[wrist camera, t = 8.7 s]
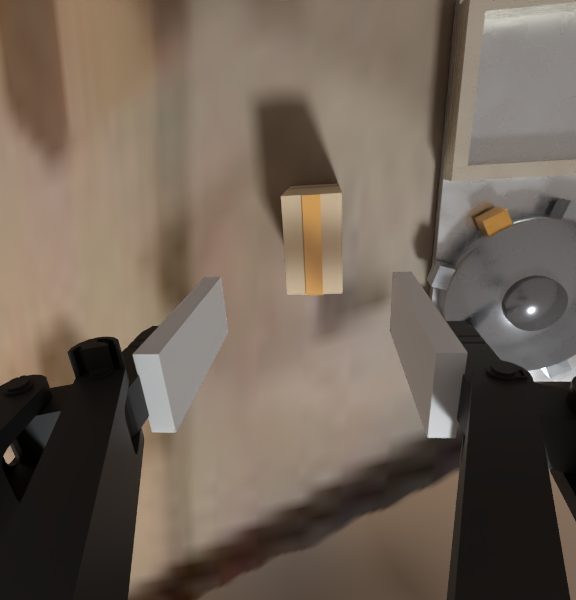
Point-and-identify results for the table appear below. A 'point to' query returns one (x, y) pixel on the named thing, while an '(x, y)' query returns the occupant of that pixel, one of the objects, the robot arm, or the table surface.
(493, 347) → the sprocket
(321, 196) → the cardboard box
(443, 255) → the base plate
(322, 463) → the table surface
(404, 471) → the table surface
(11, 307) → the table surface
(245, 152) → the table surface
